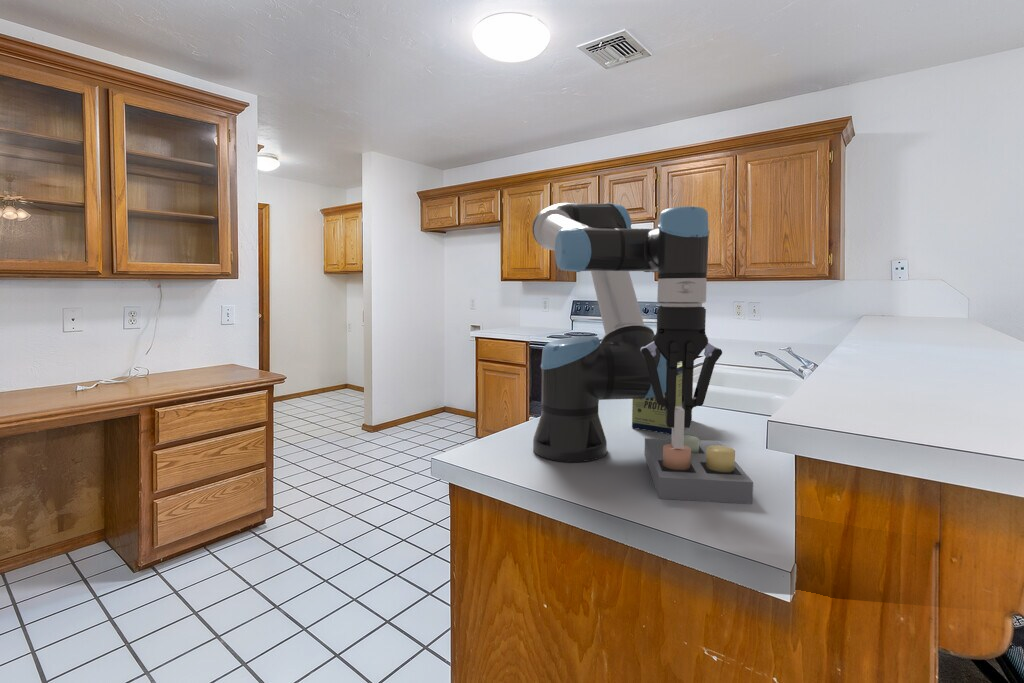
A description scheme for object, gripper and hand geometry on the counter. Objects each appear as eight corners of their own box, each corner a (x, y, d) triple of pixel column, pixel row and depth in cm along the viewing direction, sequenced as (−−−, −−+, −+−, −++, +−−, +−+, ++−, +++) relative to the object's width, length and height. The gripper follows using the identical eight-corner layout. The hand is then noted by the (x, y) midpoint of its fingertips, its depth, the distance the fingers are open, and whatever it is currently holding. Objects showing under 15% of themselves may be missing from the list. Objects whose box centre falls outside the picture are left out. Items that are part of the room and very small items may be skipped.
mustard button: (709, 471, 81) (710, 453, 80) (703, 461, 85) (703, 444, 85) (737, 472, 80) (738, 454, 80) (730, 463, 84) (731, 446, 84)
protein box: (631, 428, 119) (632, 364, 117) (652, 414, 132) (653, 356, 130) (675, 435, 113) (677, 368, 111) (692, 420, 126) (694, 359, 124)
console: (659, 498, 79) (659, 477, 79) (644, 455, 100) (644, 438, 99) (752, 503, 77) (753, 482, 77) (717, 458, 98) (718, 440, 97)
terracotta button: (664, 469, 82) (665, 451, 82) (661, 460, 86) (661, 443, 86) (692, 470, 81) (693, 452, 81) (687, 461, 85) (688, 444, 85)
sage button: (676, 457, 91) (676, 441, 91) (672, 449, 96) (672, 434, 95) (701, 458, 91) (701, 442, 90) (695, 450, 95) (696, 435, 95)
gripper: (642, 306, 78) (639, 451, 80) (729, 305, 76) (724, 455, 78) (637, 304, 85) (635, 438, 88) (717, 304, 83) (712, 441, 86)
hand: (677, 446), depth 83 cm, fingers closed
